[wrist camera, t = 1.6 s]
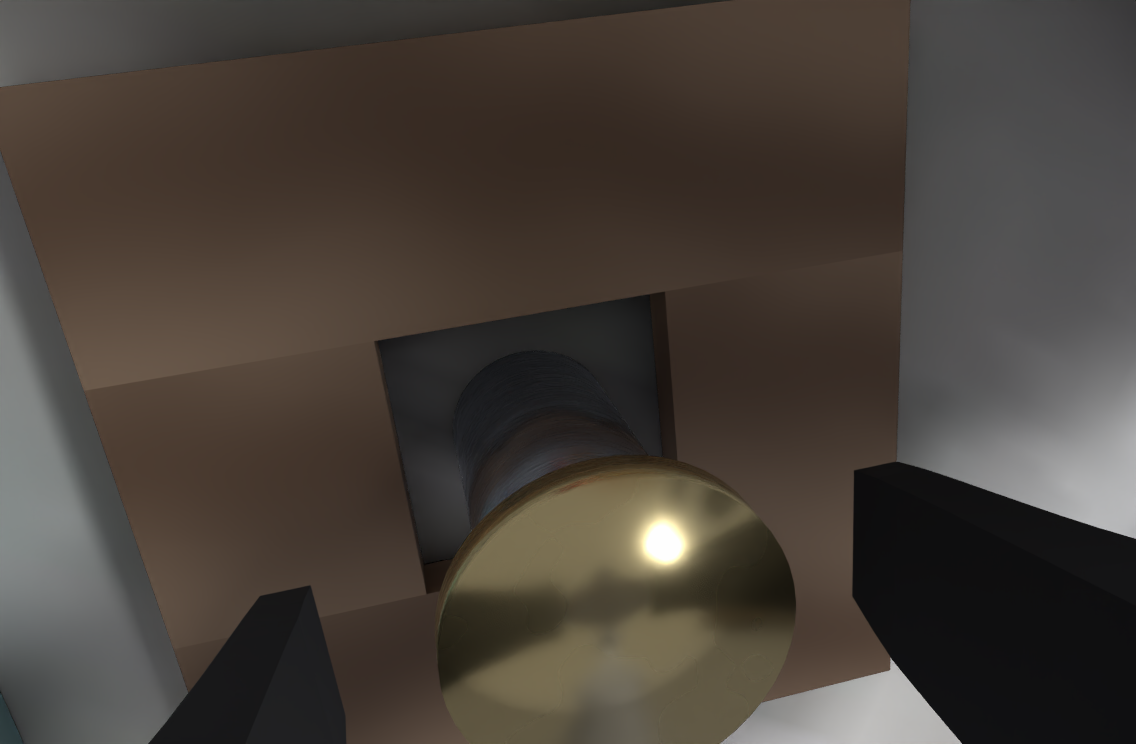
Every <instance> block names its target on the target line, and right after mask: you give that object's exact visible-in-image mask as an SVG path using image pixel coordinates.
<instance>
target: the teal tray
mask: <svg viewBox="0 0 1136 744" xmlns="http://www.w3.org/2000/svg"><path fill="white" fill-rule="evenodd" d="M0 744H23V741H22V739H21V737H20V735H19V732H18V730H17V728H16V726H15V723H14V721H13V719H12V717H11V715H10V712H9V710H8V708H7V706H6V703H5V701H4V699H3V697H2V694H1V692H0Z"/></svg>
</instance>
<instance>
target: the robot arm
mask: <svg viewBox="0 0 1136 744" xmlns="http://www.w3.org/2000/svg"><path fill="white" fill-rule="evenodd" d="M852 597H853V598H854V600H855V602H856V603H857V605H858V607H859V608H860V610H861V612H862V613H863V615H864V617H865V618H866V620H867V622H868V623H869V625H870V626H871V628H872V630H873V631H874V633H875V634H876V636H877V637H878V639H879V641H880V642H881V644H882V645H883V647H884V648H885V650H886V651H887V653H888V654H889V656H890V657H891V659H892V660H893V661H894V662H895V664H896V665H897V666H898V667H899V669H900V670H901V671H902V672H903V674H904V675H905V676H906V677H907V678H908V680H909V681H910V682H911V683H912V684H913V686H914V687H915V688H916V689H917V691H918V692H919V693H920V694H921V695H922V697H923V698H924V699H925V700H926V701H927V703H928V704H929V705H930V706H931V707H932V709H933V710H934V711H935V712H936V713H937V714H938V716H939V717H940V718H941V719H942V720H943V722H944V723H945V724H946V725H947V726H948V727H949V729H950V730H951V731H952V732H953V733H954V735H955V736H956V737H957V738H958V739H959V740H960V742H961V743H962V744H1136V539H1134V538H1131V537H1127V536H1124V535H1121V534H1117V533H1114V532H1111V531H1107V530H1104V529H1100V528H1097V527H1094V526H1091V525H1088V524H1085V523H1082V522H1078V521H1075V520H1072V519H1069V518H1066V517H1063V516H1060V515H1057V514H1054V513H1051V512H1048V511H1045V510H1042V509H1039V508H1036V507H1033V506H1031V505H1028V504H1025V503H1022V502H1019V501H1016V500H1013V499H1010V498H1007V497H1005V496H1002V495H999V494H996V493H993V492H990V491H987V490H985V489H982V488H979V487H976V486H973V485H970V484H967V483H965V482H962V481H959V480H956V479H953V478H950V477H947V476H944V475H941V474H938V473H935V472H932V471H929V470H925V469H922V468H919V467H915V466H912V465H908V464H904V463H900V462H891V463H886V464H881V465H877V466H872V467H867V468H862V469H858V470H854V501H853V575H852ZM148 744H346V715H345V712H344V708H343V704H342V700H341V697H340V693H339V689H338V685H337V682H336V678H335V674H334V671H333V667H332V663H331V659H330V656H329V652H328V648H327V644H326V641H325V637H324V633H323V629H322V626H321V622H320V618H319V614H318V611H317V607H316V603H315V599H314V596H313V592H312V588H311V585H309V586H304V587H300V588H295V589H290V590H285V591H281V592H276V593H271V594H266V595H262V596H259V598H258V599H257V600H256V602H255V603H254V604H253V606H252V607H251V608H250V610H249V611H248V612H247V614H246V615H245V616H244V618H243V619H242V620H241V622H240V623H239V624H238V626H237V627H236V629H235V630H234V631H233V633H232V634H231V636H230V637H229V638H228V640H227V641H226V643H225V644H224V645H223V647H222V648H221V650H220V651H219V652H218V654H217V655H216V656H215V658H214V659H213V661H212V662H211V663H210V665H209V666H208V668H207V669H206V670H205V672H204V673H203V674H202V676H201V677H200V678H199V680H198V681H197V682H196V684H195V685H194V686H193V688H192V689H191V690H190V692H189V693H188V694H187V696H186V697H185V698H184V700H183V701H182V702H181V703H180V705H179V706H178V707H177V709H176V710H175V711H174V713H173V714H172V715H171V717H170V718H169V719H168V721H167V722H166V723H165V724H164V725H163V727H162V728H161V729H160V730H159V731H158V733H157V734H156V735H155V736H154V737H153V739H152V740H151V741H150V742H149V743H148Z"/></svg>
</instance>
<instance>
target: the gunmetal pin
mask: <svg viewBox="0 0 1136 744" xmlns="http://www.w3.org/2000/svg"><path fill="white" fill-rule="evenodd" d="M453 437H454V444H455V449H456V454H457V459H458V464H459V469H460V474H461V479H462V484H463V489H464V494H465V499H466V504H467V509H468V514H469V519H470V524H471V529H472V532H471V533H470V534H469V535H468V537H467V538H466V540H465V541H464V543H463V544H462V546H461V547H460V548H459V550H458V551H457V553H456V555H455V557H454V559H453V561H452V563H451V565H450V567H449V569H448V570H447V572H446V575H445V578H444V581H443V584H442V587H441V590H440V593H439V597H438V602H437V608H436V613H435V643H436V653H437V663H438V672H439V680H440V687H441V691H442V694H443V698H444V701H445V704H446V707H447V709H448V711H449V713H450V715H451V717H452V719H453V721H454V723H455V725H456V726H457V728H458V729H459V730H460V732H461V733H462V735H463V736H464V737H465V739H466V740H467V741H468V742H469V743H470V744H720V743H721V742H722V741H723V740H725V739H726V738H727V737H728V736H730V735H731V734H732V733H733V732H734V731H736V730H737V729H738V728H739V727H740V726H741V725H742V724H743V723H744V722H745V721H746V720H747V718H748V717H749V716H750V715H751V714H752V713H753V712H754V711H755V709H756V708H757V707H758V706H759V704H760V703H761V702H762V701H763V699H764V698H765V697H766V695H767V693H768V692H769V690H770V689H771V687H772V686H773V684H774V682H775V681H776V679H777V677H778V675H779V673H780V671H781V669H782V667H783V664H784V662H785V660H786V657H787V654H788V651H789V648H790V645H791V642H792V636H793V631H794V626H795V616H796V596H795V586H794V581H793V577H792V573H791V569H790V566H789V563H788V561H787V559H786V556H785V554H784V552H783V550H782V548H781V546H780V544H779V543H778V541H777V540H776V538H775V537H774V535H773V534H772V532H771V531H770V530H769V528H768V527H767V526H766V525H765V524H764V522H763V521H762V520H761V519H760V518H759V516H758V515H757V514H756V513H755V512H754V510H753V509H752V508H751V507H750V506H749V505H748V504H747V502H746V501H745V500H744V499H743V498H742V497H741V496H740V495H739V494H738V493H737V492H736V491H735V490H734V489H732V488H731V487H730V486H729V485H727V484H726V483H725V482H724V481H722V480H720V479H719V478H717V477H715V476H714V475H712V474H710V473H708V472H707V471H705V470H703V469H700V468H698V467H695V466H693V465H690V464H688V463H685V462H681V461H677V460H673V459H669V458H665V457H657V456H648V455H647V454H646V452H645V451H644V449H643V448H642V446H641V445H640V443H639V442H638V440H637V439H636V437H635V436H634V434H633V433H632V431H631V430H630V429H629V427H628V426H627V424H626V423H625V421H624V420H623V418H622V417H621V415H620V414H619V412H618V411H617V409H616V408H615V406H614V405H613V404H612V402H611V401H610V399H609V398H608V396H607V395H606V393H605V392H604V390H603V389H602V387H601V386H600V384H599V383H598V382H597V380H596V379H595V377H594V376H593V375H592V374H591V373H590V372H589V371H588V370H587V369H586V368H585V367H583V366H582V365H581V364H580V363H578V362H576V361H575V360H573V359H571V358H569V357H566V356H564V355H561V354H557V353H554V352H547V351H526V352H520V353H515V354H511V355H509V356H506V357H503V358H501V359H499V360H497V361H495V362H493V363H492V364H490V365H489V366H487V367H486V368H484V369H483V370H482V371H481V372H480V373H478V374H477V375H476V376H475V377H474V378H473V380H472V381H471V382H470V383H469V384H468V386H467V387H466V389H465V390H464V392H463V393H462V395H461V397H460V399H459V401H458V404H457V407H456V410H455V415H454V420H453Z"/></svg>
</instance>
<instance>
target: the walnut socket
mask: <svg viewBox="0 0 1136 744" xmlns="http://www.w3.org/2000/svg"><path fill="white" fill-rule="evenodd" d="M909 31H910V0H731V1H722V2H714V3H705V4H697V5H689V6H680V7H672V8H663V9H655V10H646V11H638V12H630V13H621V14H613V15H604V16H596V17H587V18H579V19H571V20H562V21H554V22H545V23H537V24H528V25H520V26H512V27H503V28H495V29H486V30H478V31H470V32H461V33H453V34H444V35H436V36H427V37H419V38H411V39H402V40H394V41H385V42H377V43H368V44H360V45H352V46H343V47H335V48H326V49H318V50H309V51H301V52H293V53H284V54H276V55H267V56H259V57H250V58H242V59H234V60H225V61H217V62H208V63H200V64H191V65H183V66H175V67H166V68H158V69H149V70H141V71H133V72H124V73H116V74H107V75H99V76H90V77H82V78H74V79H65V80H57V81H48V82H40V83H31V84H23V85H15V86H6V87H0V151H1V154H2V157H3V160H4V162H5V165H6V168H7V171H8V174H9V177H10V180H11V183H12V185H13V188H14V191H15V194H16V197H17V200H18V203H19V206H20V209H21V211H22V214H23V217H24V220H25V223H26V226H27V229H28V232H29V234H30V237H31V240H32V243H33V246H34V249H35V252H36V255H37V258H38V260H39V263H40V266H41V269H42V272H43V275H44V278H45V281H46V283H47V286H48V289H49V292H50V295H51V298H52V301H53V304H54V306H55V309H56V312H57V315H58V318H59V321H60V324H61V327H62V330H63V332H64V335H65V338H66V341H67V344H68V347H69V350H70V353H71V355H72V358H73V361H74V364H75V367H76V370H77V373H78V376H79V379H80V381H81V384H82V387H83V390H84V393H85V396H86V399H87V402H88V404H89V407H90V410H91V413H92V416H93V419H94V422H95V425H96V427H97V430H98V433H99V436H100V439H101V442H102V445H103V448H104V451H105V453H106V456H107V459H108V462H109V465H110V468H111V471H112V474H113V476H114V479H115V482H116V485H117V488H118V491H119V494H120V497H121V500H122V502H123V505H124V508H125V511H126V514H127V517H128V520H129V523H130V525H131V528H132V531H133V534H134V537H135V540H136V543H137V546H138V548H139V551H140V554H141V557H142V560H143V563H144V566H145V569H146V572H147V574H148V577H149V580H150V583H151V586H152V589H153V592H154V595H155V597H156V600H157V603H158V606H159V609H160V612H161V615H162V618H163V621H164V623H165V626H166V629H167V632H168V635H169V638H170V641H171V644H172V646H173V649H174V652H175V655H176V658H177V661H178V664H179V667H180V669H181V672H182V675H183V678H184V681H185V684H186V687H187V690H188V693H189V692H190V690H191V689H192V688H193V686H194V685H195V684H196V682H197V681H198V680H199V678H200V677H201V676H202V674H203V673H204V672H205V670H206V669H207V668H208V666H209V665H210V663H211V662H212V661H213V659H214V658H215V656H216V655H217V654H218V652H219V651H220V650H221V648H222V647H223V645H224V644H225V643H226V641H227V640H228V638H229V637H230V636H231V634H232V633H233V631H234V630H235V629H236V627H237V626H238V624H239V623H240V622H241V620H242V619H243V618H244V616H245V615H246V614H247V612H248V611H249V610H250V608H251V607H252V606H253V604H254V603H255V602H256V600H257V599H258V598H259V596H262V595H266V594H271V593H276V592H281V591H285V590H290V589H295V588H300V587H304V586H309V585H311V588H312V592H313V596H314V599H315V603H316V607H317V611H318V614H319V618H320V622H321V626H322V629H323V633H324V637H325V641H326V644H327V648H328V652H329V656H330V659H331V663H332V667H333V671H334V674H335V678H336V682H337V685H338V689H339V693H340V697H341V700H342V704H343V708H344V712H345V715H346V744H470V743H469V742H468V741H467V740H466V739H465V737H464V736H463V735H462V733H461V732H460V730H459V729H458V728H457V726H456V725H455V723H454V721H453V719H452V717H451V715H450V713H449V711H448V709H447V707H446V704H445V701H444V698H443V694H442V691H441V687H440V680H439V672H438V663H437V653H436V643H435V613H436V608H437V602H438V597H439V593H440V590H441V587H442V584H443V581H444V578H445V575H446V572H447V570H448V569H449V567H450V565H451V563H452V561H453V559H450V560H445V561H440V562H435V563H431V564H426V565H424V563H423V558H422V553H421V549H420V544H419V539H418V534H417V529H416V524H415V519H414V515H413V510H412V505H411V500H410V495H409V490H408V485H407V481H406V476H405V471H404V466H403V461H402V456H401V451H400V447H399V442H398V437H397V432H396V427H395V422H394V418H393V413H392V408H391V403H390V398H389V393H388V388H387V384H386V379H385V374H384V369H383V364H382V359H381V354H380V350H379V345H378V340H384V339H390V338H396V337H401V336H407V335H413V334H419V333H425V332H431V331H437V330H442V329H448V328H454V327H460V326H466V325H472V324H477V323H483V322H489V321H495V320H501V319H507V318H513V317H518V316H524V315H530V314H536V313H542V312H548V311H554V310H559V309H565V308H571V307H577V306H583V305H589V304H594V303H600V302H606V301H612V300H618V299H624V298H630V297H635V296H641V295H647V294H650V305H651V318H652V330H653V342H654V354H655V367H656V379H657V391H658V404H659V416H660V428H661V441H662V453H663V457H665V458H669V459H673V460H677V461H681V462H685V463H688V464H690V465H693V466H695V467H698V468H700V469H703V470H705V471H707V472H708V473H710V474H712V475H714V476H715V477H717V478H719V479H720V480H722V481H724V482H725V483H726V484H727V485H729V486H730V487H731V488H732V489H734V490H735V491H736V492H737V493H738V494H739V495H740V496H741V497H742V498H743V499H744V500H745V501H746V502H747V504H748V505H749V506H750V507H751V508H752V509H753V510H754V512H755V513H756V514H757V515H758V516H759V518H760V519H761V520H762V521H763V522H764V524H765V525H766V526H767V527H768V528H769V530H770V531H771V532H772V534H773V535H774V537H775V538H776V540H777V541H778V543H779V544H780V546H781V548H782V550H783V552H784V554H785V556H786V559H787V561H788V563H789V566H790V569H791V573H792V577H793V581H794V586H795V596H796V616H795V626H794V631H793V636H792V642H791V645H790V648H789V651H788V654H787V657H786V660H785V662H784V664H783V667H782V669H781V671H780V673H779V675H778V677H777V679H776V681H775V682H774V684H773V686H772V687H771V689H770V690H769V692H768V693H767V695H766V697H765V698H764V699H763V701H762V702H765V701H769V700H773V699H777V698H781V697H785V696H789V695H793V694H797V693H801V692H805V691H809V690H813V689H817V688H821V687H825V686H829V685H833V684H837V683H841V682H845V681H849V680H853V679H857V678H861V677H865V676H869V675H873V674H877V673H881V672H884V671H888V670H890V656H889V654H888V653H887V651H886V650H885V648H884V647H883V645H882V644H881V642H880V641H879V639H878V637H877V636H876V634H875V633H874V631H873V630H872V628H871V626H870V625H869V623H868V622H867V620H866V618H865V617H864V615H863V613H862V612H861V610H860V608H859V607H858V605H857V603H856V602H855V600H854V598H853V597H852V575H853V501H854V470H858V469H862V468H867V467H872V466H877V465H881V464H886V463H891V462H896V458H897V425H898V392H899V359H900V326H901V293H902V261H903V228H904V195H905V162H906V129H907V96H908V64H909Z"/></svg>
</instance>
